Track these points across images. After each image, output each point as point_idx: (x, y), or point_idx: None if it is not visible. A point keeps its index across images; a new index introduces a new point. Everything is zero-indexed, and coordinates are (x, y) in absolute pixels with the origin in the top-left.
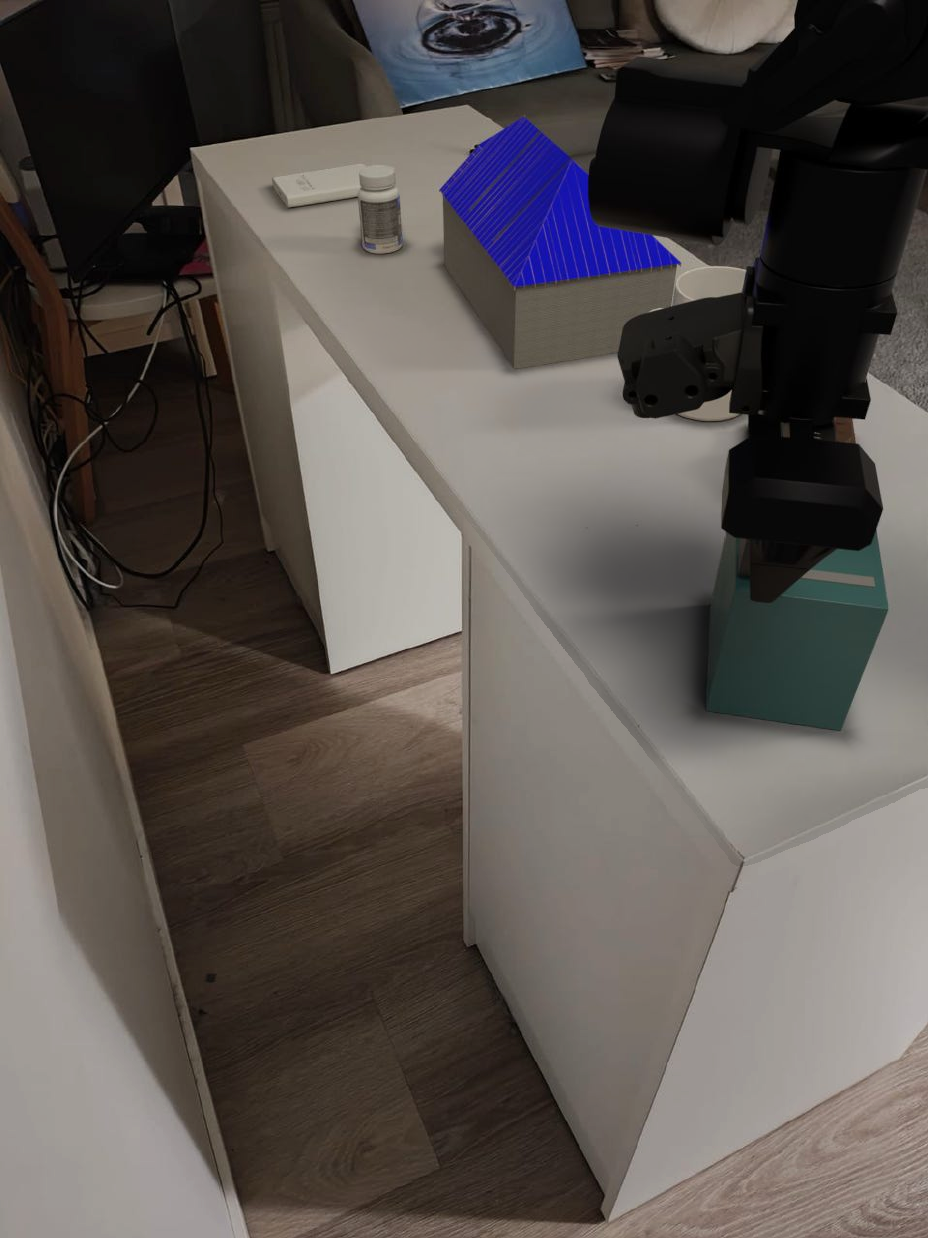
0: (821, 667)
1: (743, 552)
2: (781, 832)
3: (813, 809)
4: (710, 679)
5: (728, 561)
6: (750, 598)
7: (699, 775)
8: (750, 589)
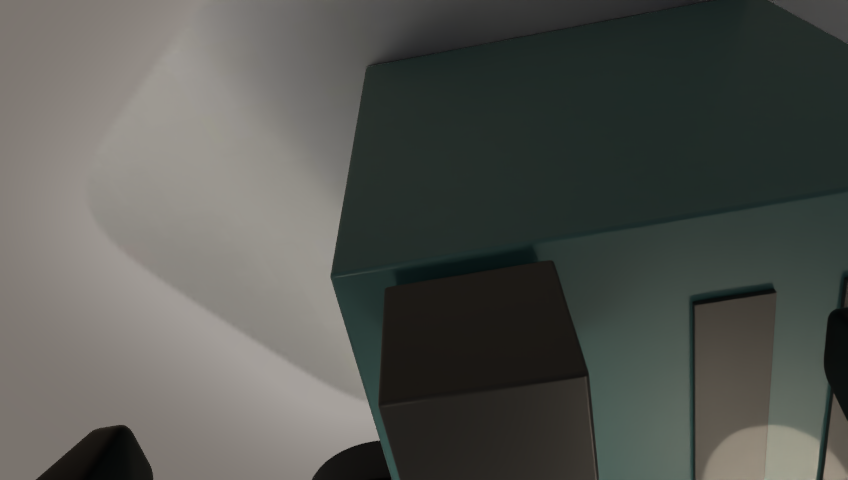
0: None
1: (382, 358)
2: (137, 255)
3: (217, 292)
4: (408, 77)
5: (657, 141)
6: (90, 433)
7: (180, 94)
8: (39, 477)
